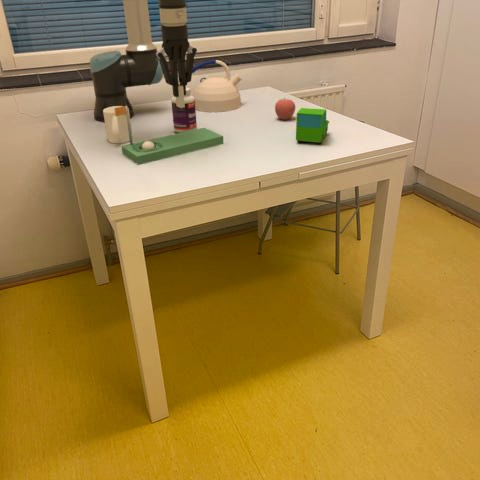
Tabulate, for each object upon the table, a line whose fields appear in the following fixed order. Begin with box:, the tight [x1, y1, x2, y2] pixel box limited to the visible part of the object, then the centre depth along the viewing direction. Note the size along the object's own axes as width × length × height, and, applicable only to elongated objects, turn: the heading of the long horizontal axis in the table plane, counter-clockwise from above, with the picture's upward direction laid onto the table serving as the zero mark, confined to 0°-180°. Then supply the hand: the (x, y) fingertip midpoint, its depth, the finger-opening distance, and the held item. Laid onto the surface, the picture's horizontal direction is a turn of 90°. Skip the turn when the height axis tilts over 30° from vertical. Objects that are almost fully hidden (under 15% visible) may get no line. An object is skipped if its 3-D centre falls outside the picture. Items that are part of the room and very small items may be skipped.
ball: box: [142, 140, 155, 150], centre depth 147 cm, size 4×4×4 cm
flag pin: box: [114, 106, 134, 145], centre depth 145 cm, size 1×4×12 cm, turn 125°
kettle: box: [192, 59, 243, 113], centre depth 192 cm, size 20×21×18 cm
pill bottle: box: [170, 87, 198, 133], centre depth 164 cm, size 8×8×14 cm
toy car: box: [295, 107, 330, 145], centre depth 155 cm, size 10×13×10 cm
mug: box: [103, 106, 134, 144], centre depth 157 cm, size 8×10×12 cm
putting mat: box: [121, 127, 224, 165], centre depth 152 cm, size 12×30×2 cm, turn 125°
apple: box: [274, 97, 296, 121], centre depth 175 cm, size 7×7×8 cm
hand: (180, 106), depth 148 cm, fingers closed
